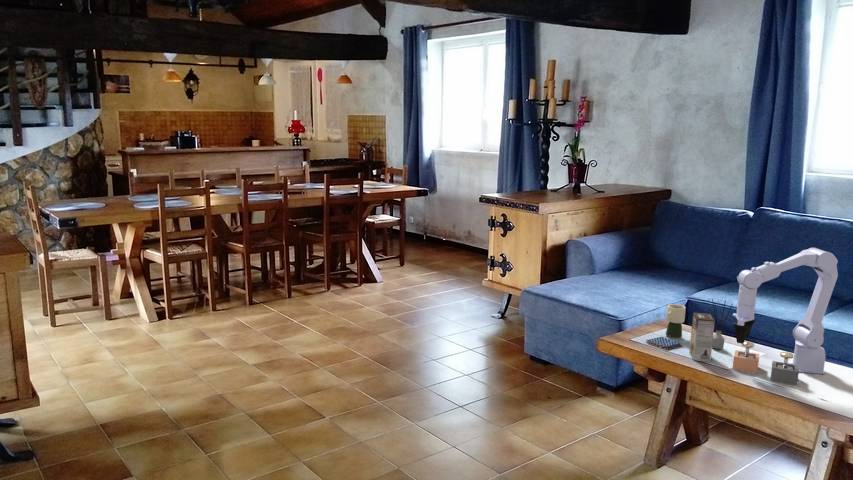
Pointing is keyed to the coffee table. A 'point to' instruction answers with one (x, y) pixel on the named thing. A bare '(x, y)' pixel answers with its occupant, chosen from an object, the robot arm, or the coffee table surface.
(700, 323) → the coffee box
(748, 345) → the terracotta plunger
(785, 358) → the beige knobbed plunger
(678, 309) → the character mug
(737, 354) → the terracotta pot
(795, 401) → the coffee table surface
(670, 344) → the woven mat
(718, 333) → the reed diffuser
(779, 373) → the dark grey square socket
